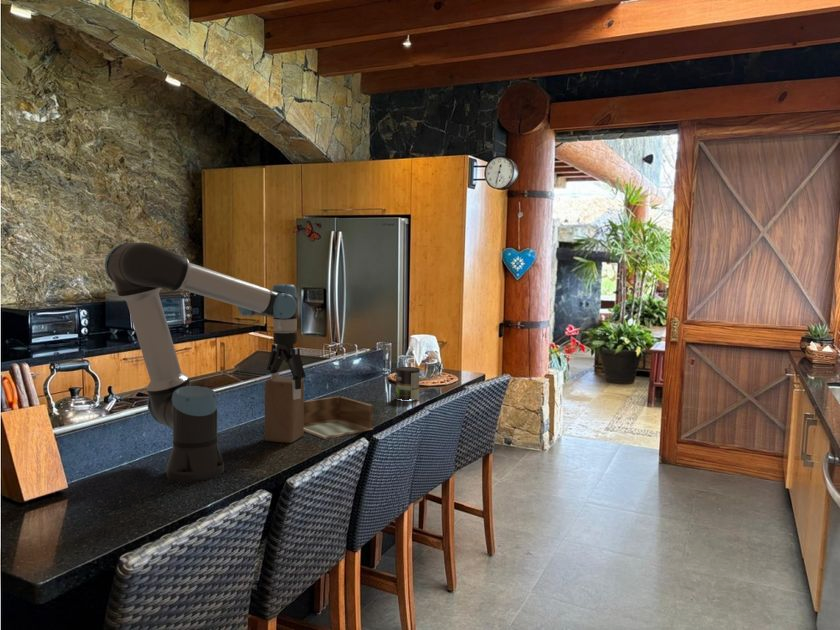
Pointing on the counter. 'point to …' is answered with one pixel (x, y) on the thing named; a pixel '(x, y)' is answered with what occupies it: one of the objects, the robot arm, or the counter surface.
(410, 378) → the coffee can
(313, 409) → the corner arena
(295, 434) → the wooden block
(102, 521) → the counter surface
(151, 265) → the robot arm
